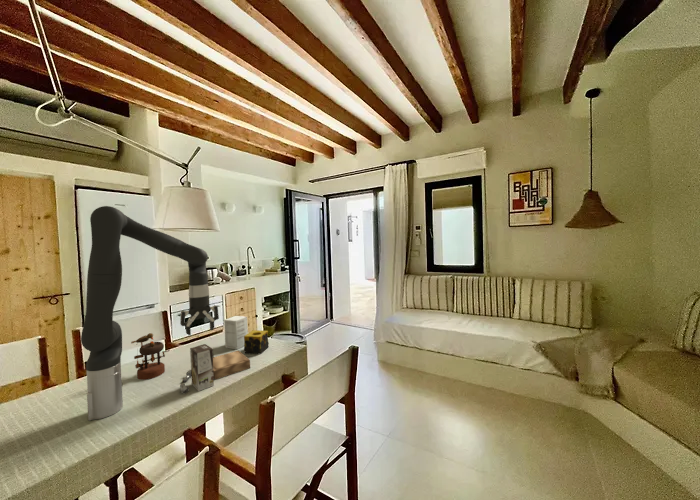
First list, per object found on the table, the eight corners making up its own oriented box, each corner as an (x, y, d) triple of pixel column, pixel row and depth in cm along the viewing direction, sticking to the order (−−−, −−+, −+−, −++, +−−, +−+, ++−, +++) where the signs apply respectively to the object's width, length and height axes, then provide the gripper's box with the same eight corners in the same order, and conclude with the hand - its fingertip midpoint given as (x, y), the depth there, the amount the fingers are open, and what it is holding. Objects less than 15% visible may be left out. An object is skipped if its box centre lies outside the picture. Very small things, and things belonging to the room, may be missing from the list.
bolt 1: (188, 381, 118) (188, 375, 118) (181, 382, 118) (181, 376, 118) (193, 375, 124) (193, 369, 124) (187, 376, 124) (186, 370, 124)
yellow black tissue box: (252, 346, 158) (252, 330, 157) (269, 347, 156) (268, 330, 156) (243, 353, 147) (243, 336, 147) (260, 354, 146) (260, 336, 146)
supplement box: (248, 344, 162) (247, 316, 161) (237, 349, 153) (236, 320, 153) (236, 342, 165) (235, 315, 165) (224, 347, 157) (223, 319, 156)
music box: (138, 384, 117) (134, 338, 118) (129, 379, 123) (126, 336, 124) (176, 369, 130) (173, 328, 130) (166, 366, 136) (163, 327, 136)
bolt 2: (189, 391, 110) (188, 385, 110) (181, 394, 108) (180, 387, 108) (186, 386, 115) (186, 379, 114) (178, 388, 113) (178, 382, 113)
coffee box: (214, 385, 115) (213, 348, 114) (198, 391, 110) (196, 353, 110) (206, 378, 121) (205, 343, 121) (191, 384, 116) (189, 347, 116)
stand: (214, 379, 120) (214, 370, 120) (205, 367, 132) (205, 359, 132) (250, 368, 130) (249, 359, 130) (238, 357, 142) (238, 349, 142)
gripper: (181, 298, 107) (183, 338, 107) (219, 293, 116) (220, 330, 117) (178, 296, 113) (179, 334, 113) (214, 291, 122) (216, 326, 122)
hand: (200, 332), depth 115 cm, fingers open, 8 cm apart
